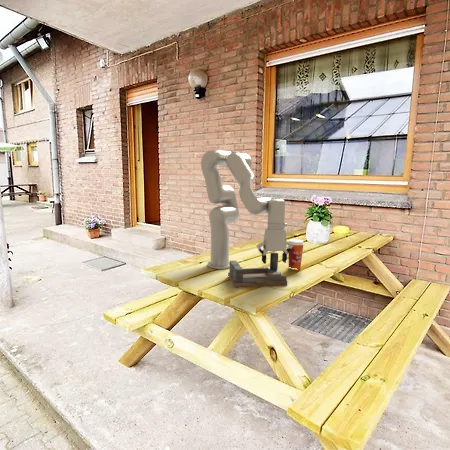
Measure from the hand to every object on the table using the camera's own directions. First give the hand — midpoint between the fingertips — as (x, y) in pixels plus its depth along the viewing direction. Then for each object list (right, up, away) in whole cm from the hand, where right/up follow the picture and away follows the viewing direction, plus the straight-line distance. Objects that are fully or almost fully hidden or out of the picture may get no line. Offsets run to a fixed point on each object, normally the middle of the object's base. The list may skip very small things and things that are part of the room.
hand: (274, 262), depth 155 cm
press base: (-8, -9, 0) cm, 12 cm away
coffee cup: (+13, -6, +19) cm, 24 cm away
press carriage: (0, -6, +1) cm, 6 cm away
